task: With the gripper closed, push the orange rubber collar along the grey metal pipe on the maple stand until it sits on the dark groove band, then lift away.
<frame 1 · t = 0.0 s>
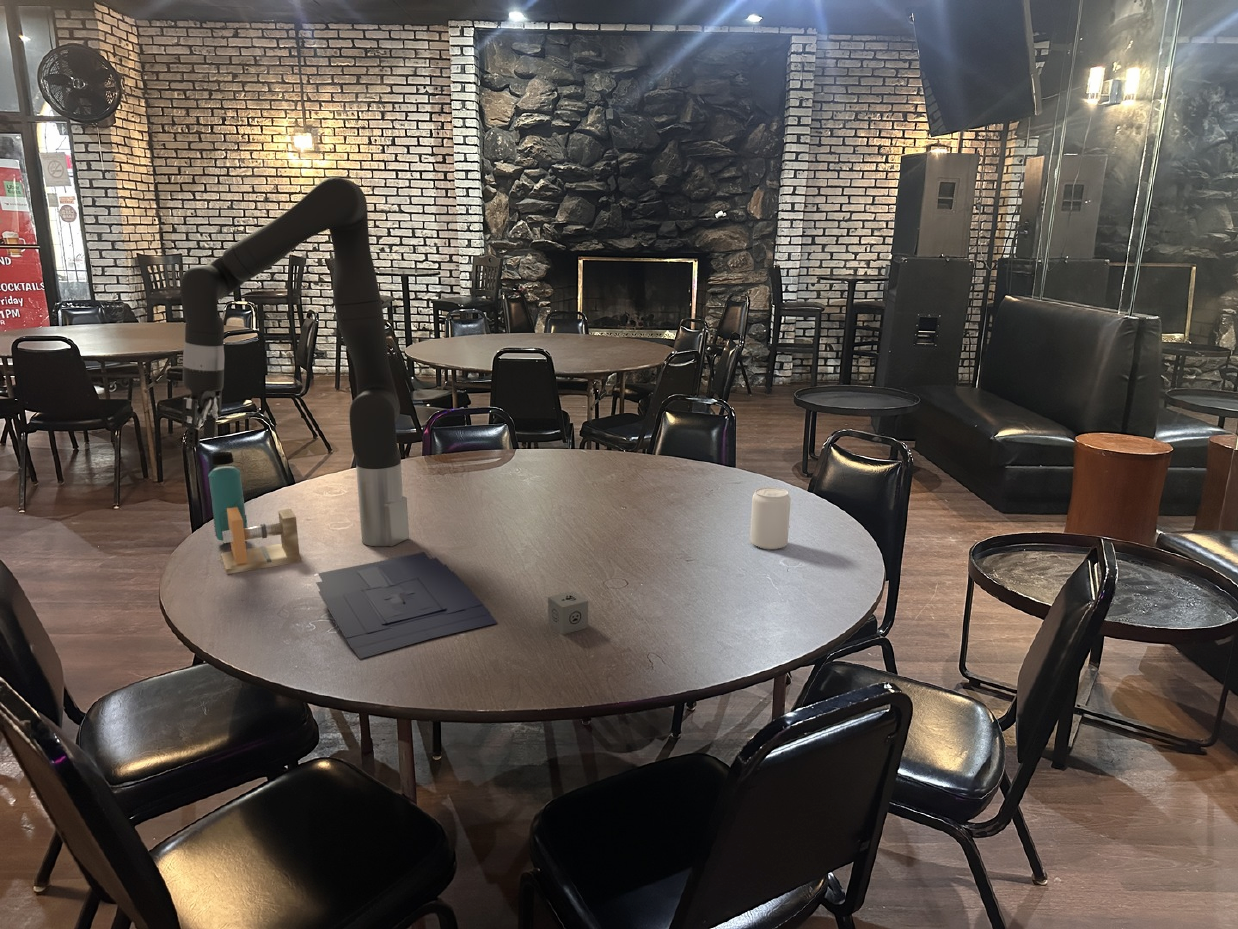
hand: (201, 441, 175), 22 cm above the table, fingers open, 8 cm apart
pipe stand: (256, 560, 171), on the table
collar: (236, 535, 168), point 6 cm above the table, slide at 0.0 cm
dice cube: (568, 626, 144), on the table
dark blue flat slab: (400, 611, 150), on the table
beverage can: (768, 545, 183), on the table
beverage bottle: (232, 543, 181), on the table
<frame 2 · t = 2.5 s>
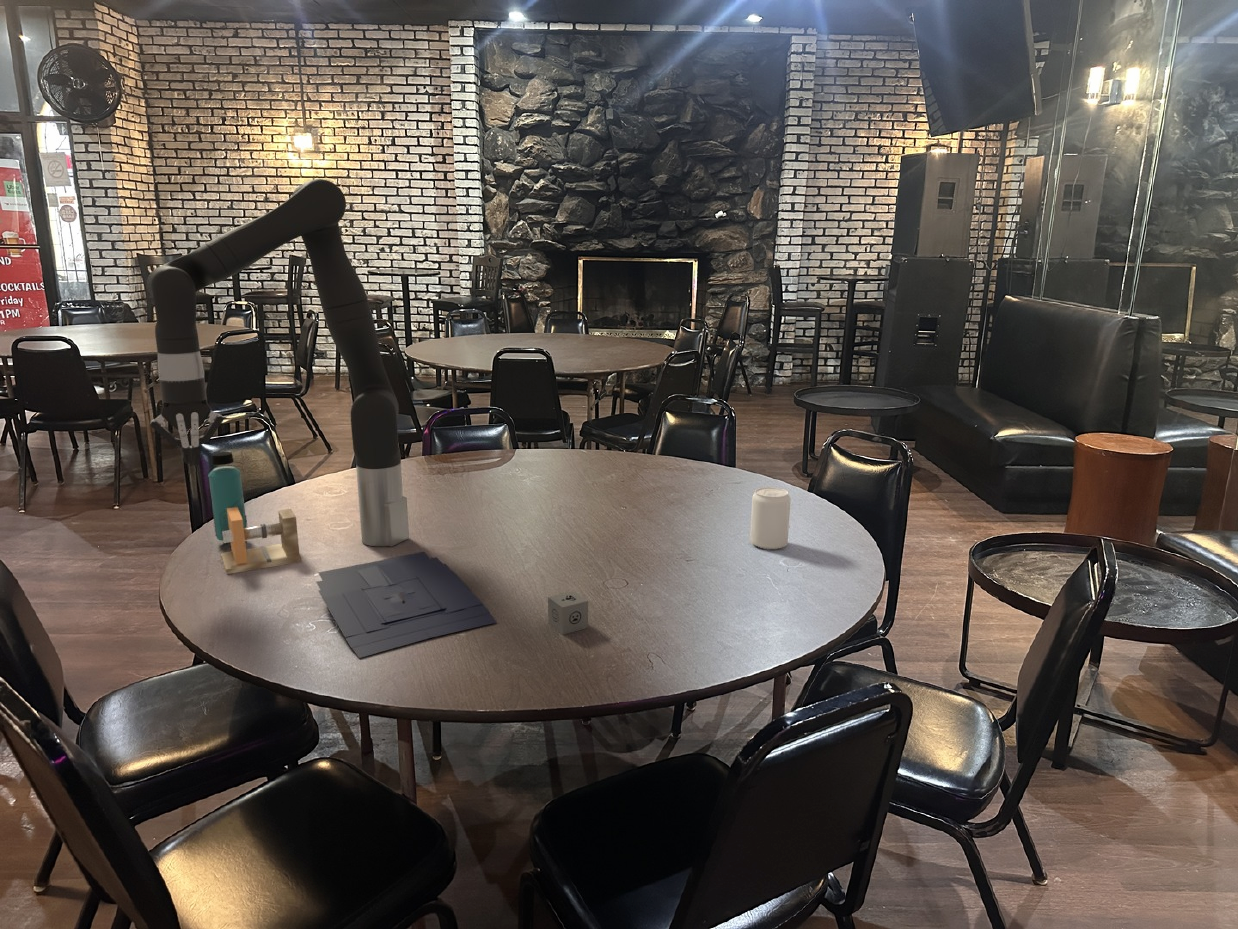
hand: (192, 465, 161), 21 cm above the table, fingers closed
nothing on the table moved.
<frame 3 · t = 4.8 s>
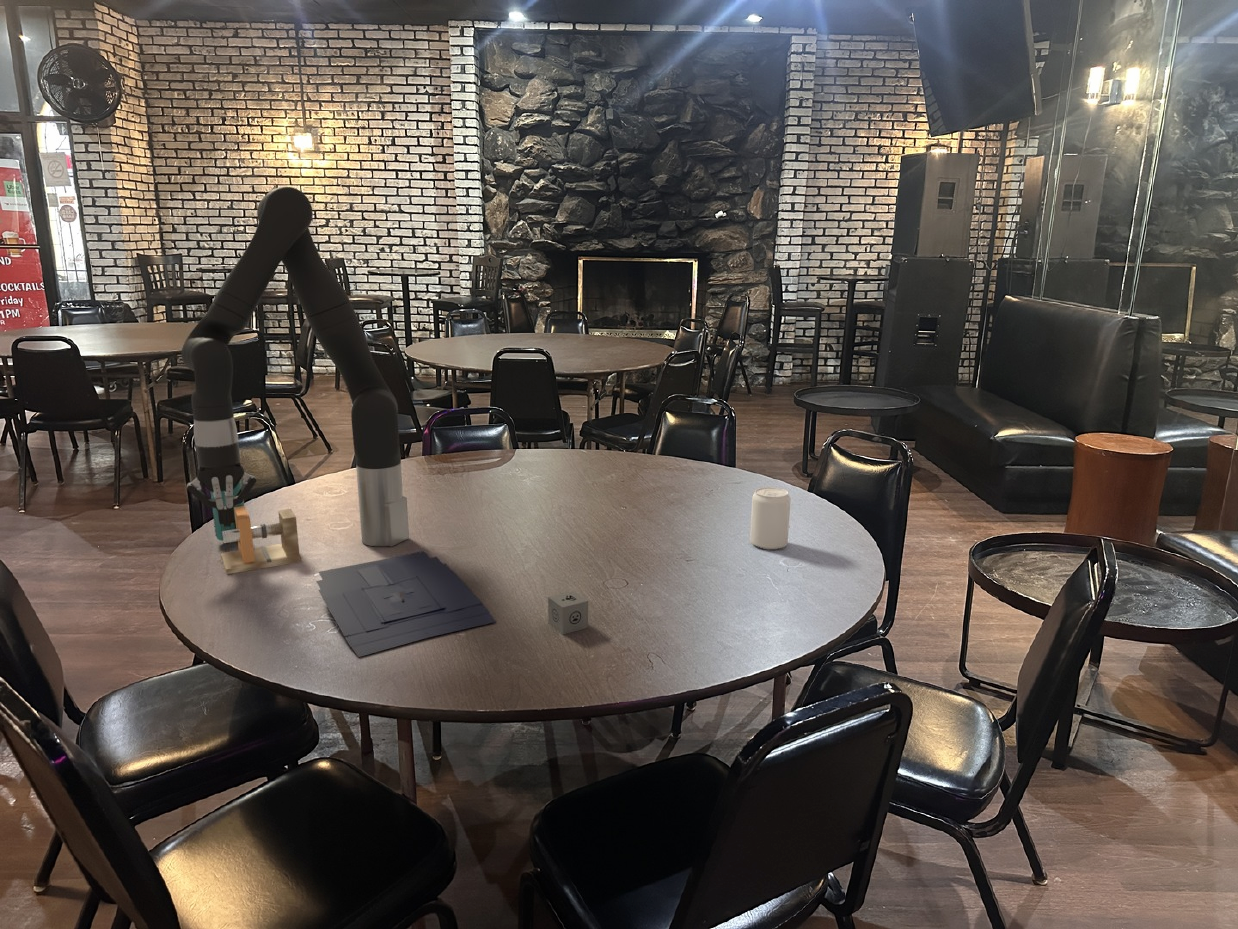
hand: (226, 525, 167), 8 cm above the table, fingers closed
collar: (244, 534, 169), point 6 cm above the table, slide at 1.4 cm, touching gripper
everything else where it was.
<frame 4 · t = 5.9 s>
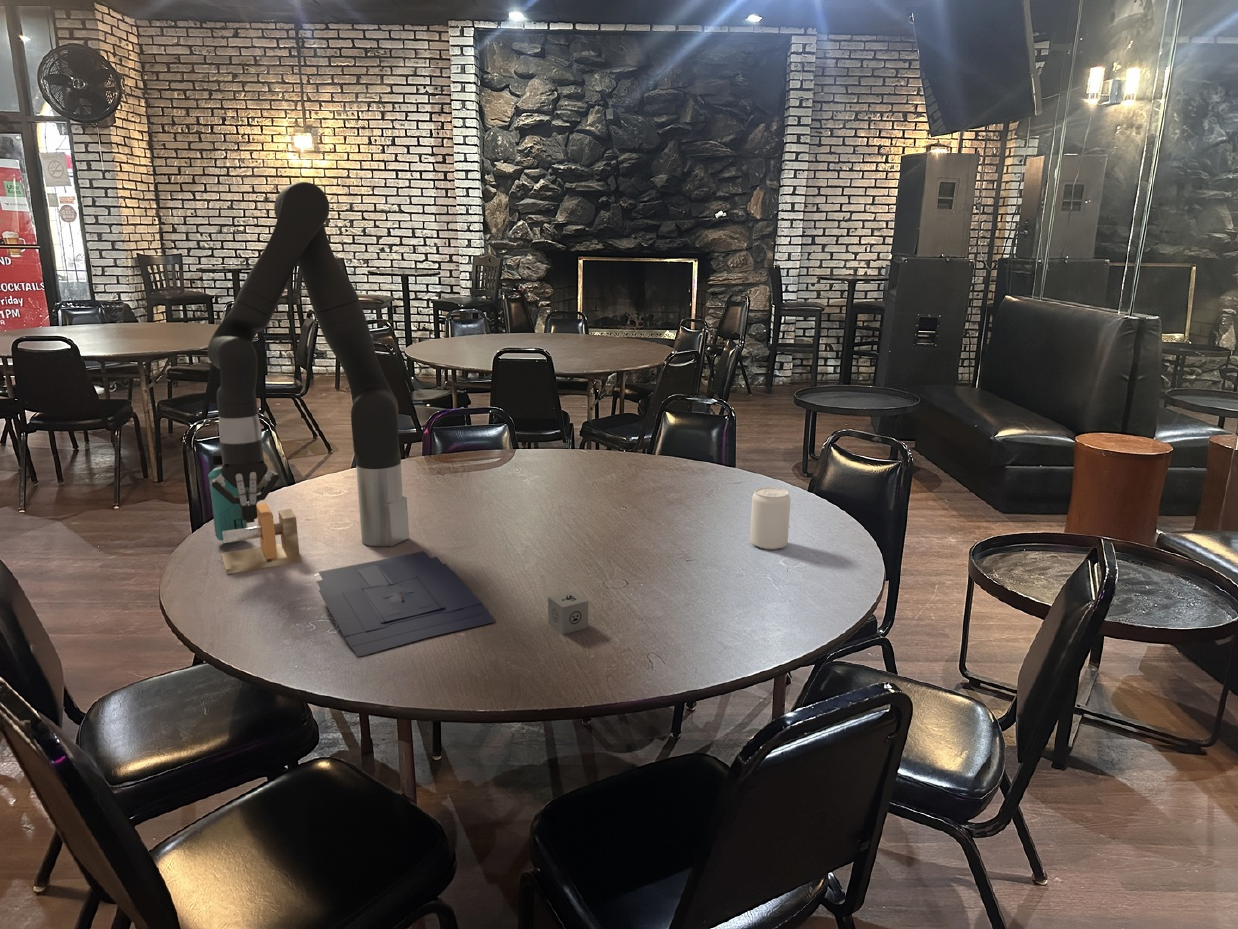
hand: (250, 521, 169), 8 cm above the table, fingers closed
collar: (266, 530, 171), point 6 cm above the table, slide at 5.6 cm, touching gripper
everything else where it was.
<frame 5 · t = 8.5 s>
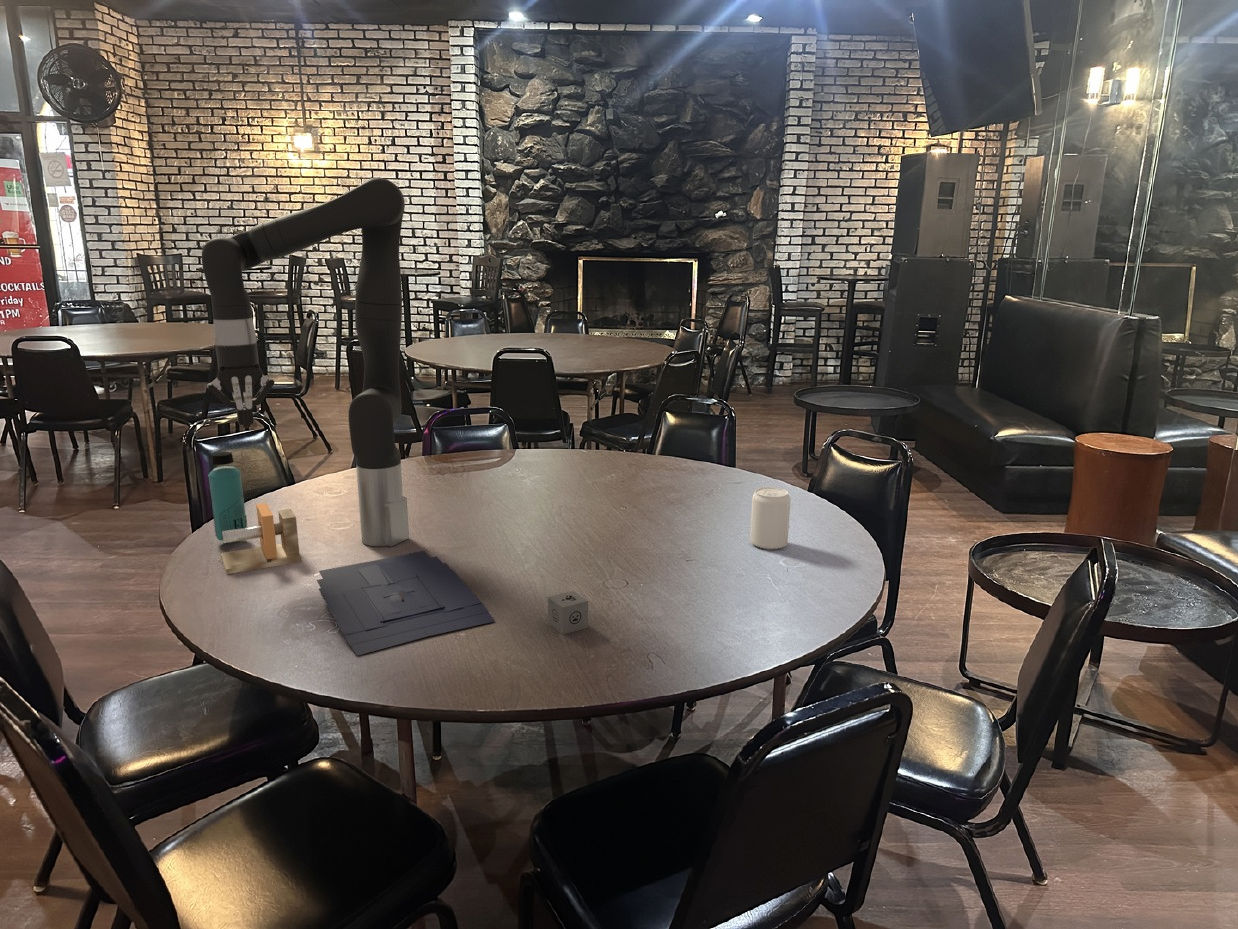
hand: (246, 426, 171), 26 cm above the table, fingers closed
collar: (266, 530, 171), point 6 cm above the table, slide at 5.6 cm
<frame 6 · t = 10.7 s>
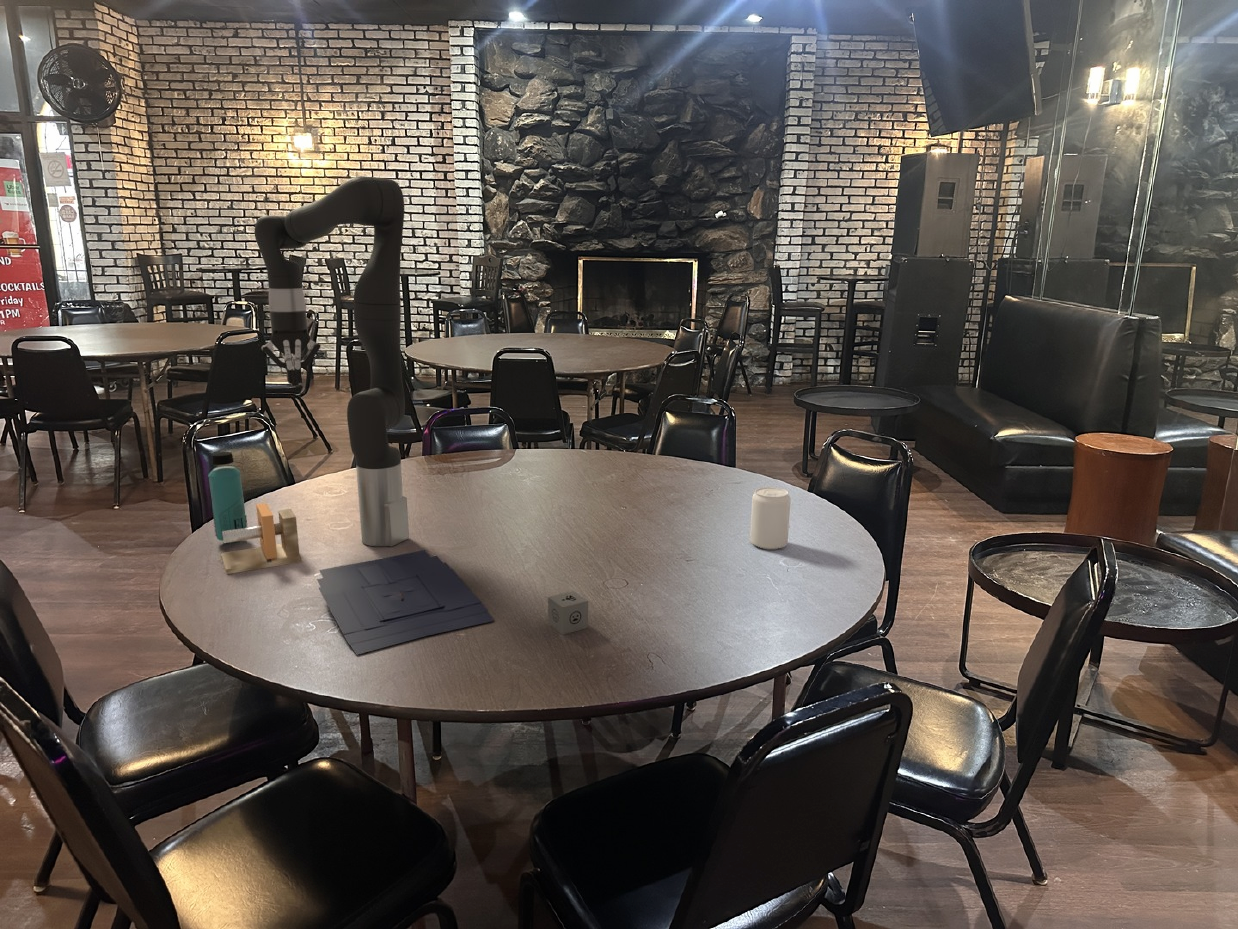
hand: (294, 385, 192), 31 cm above the table, fingers closed
at the end: collar slide at 5.6 cm; beverage bottle moved 0.2 cm from its start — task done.
